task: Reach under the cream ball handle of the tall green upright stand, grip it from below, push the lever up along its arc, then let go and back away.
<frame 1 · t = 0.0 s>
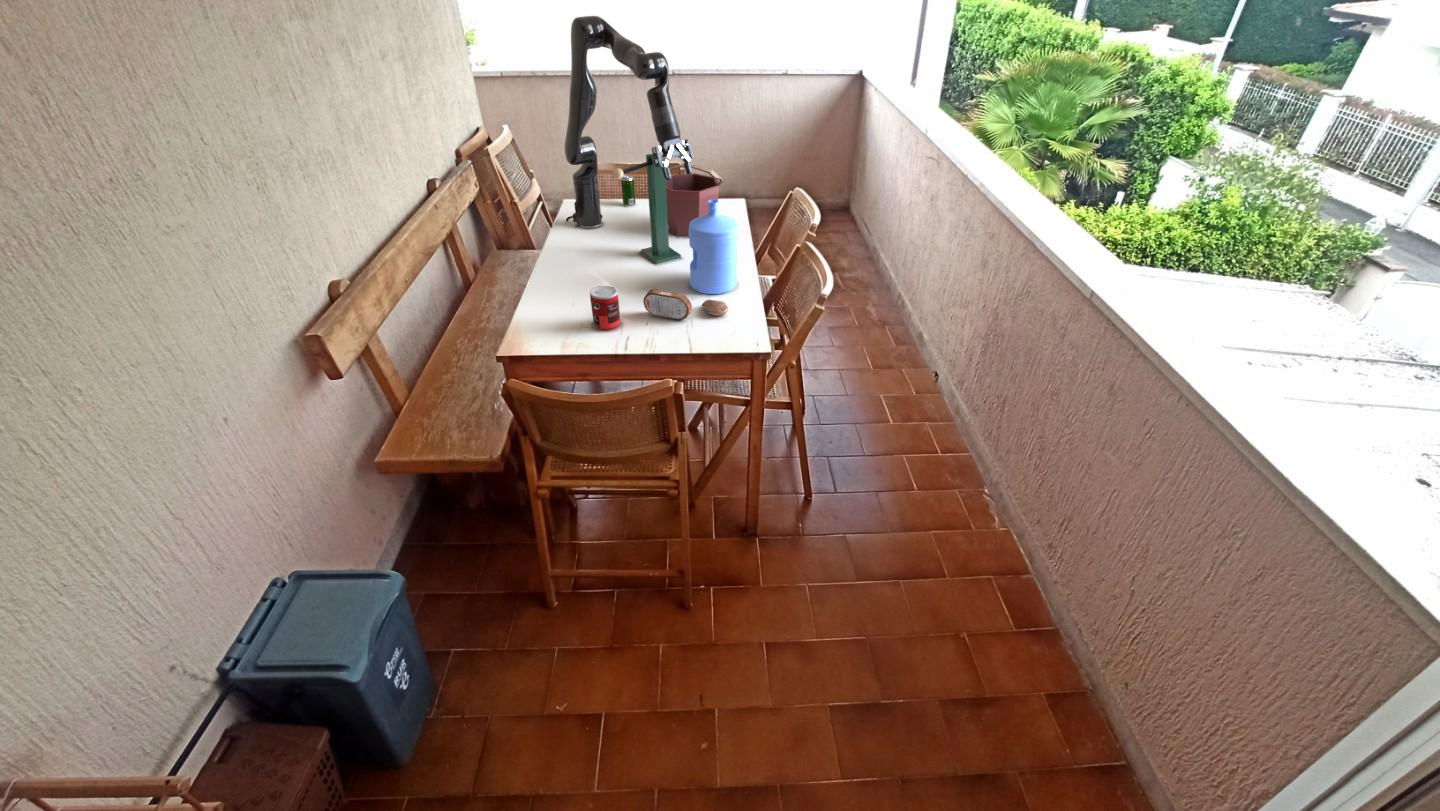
hand: (679, 176, 206), 31 cm above the table, tool tilted 20°, fingers open, 8 cm apart
canned food: (607, 325, 192), on the table
beer can: (629, 205, 277), on the table
green upright stand: (660, 256, 233), on the table
bucket: (691, 231, 253), on the table
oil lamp: (715, 312, 199), on the table
tin: (667, 317, 196), on the table
lever: (636, 167, 210), point 33 cm above the table, hinge at -8.0°
water jug: (713, 285, 214), on the table
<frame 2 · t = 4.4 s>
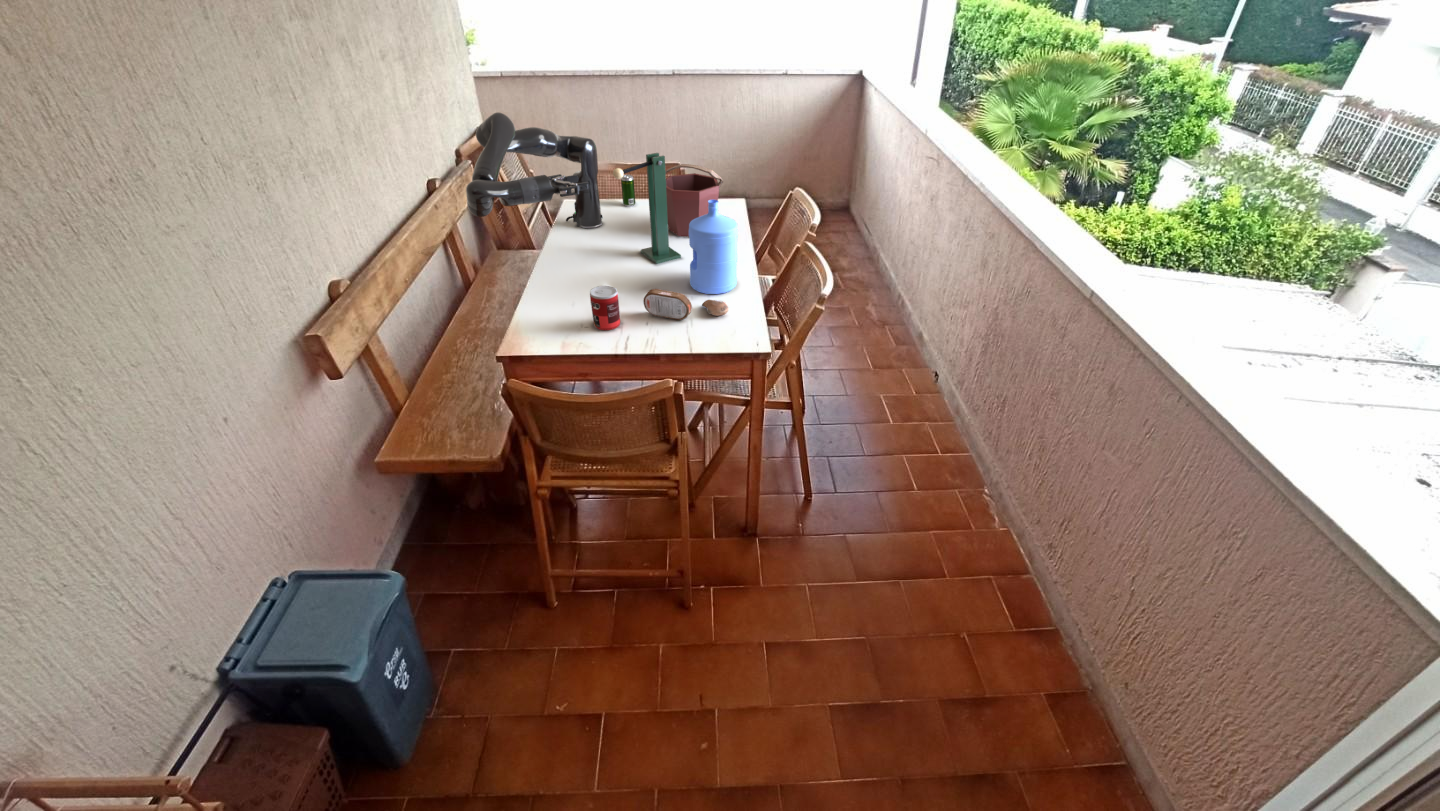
hand: (583, 181, 203), 31 cm above the table, tool horizontal, fingers open, 8 cm apart
nothing on the table moved.
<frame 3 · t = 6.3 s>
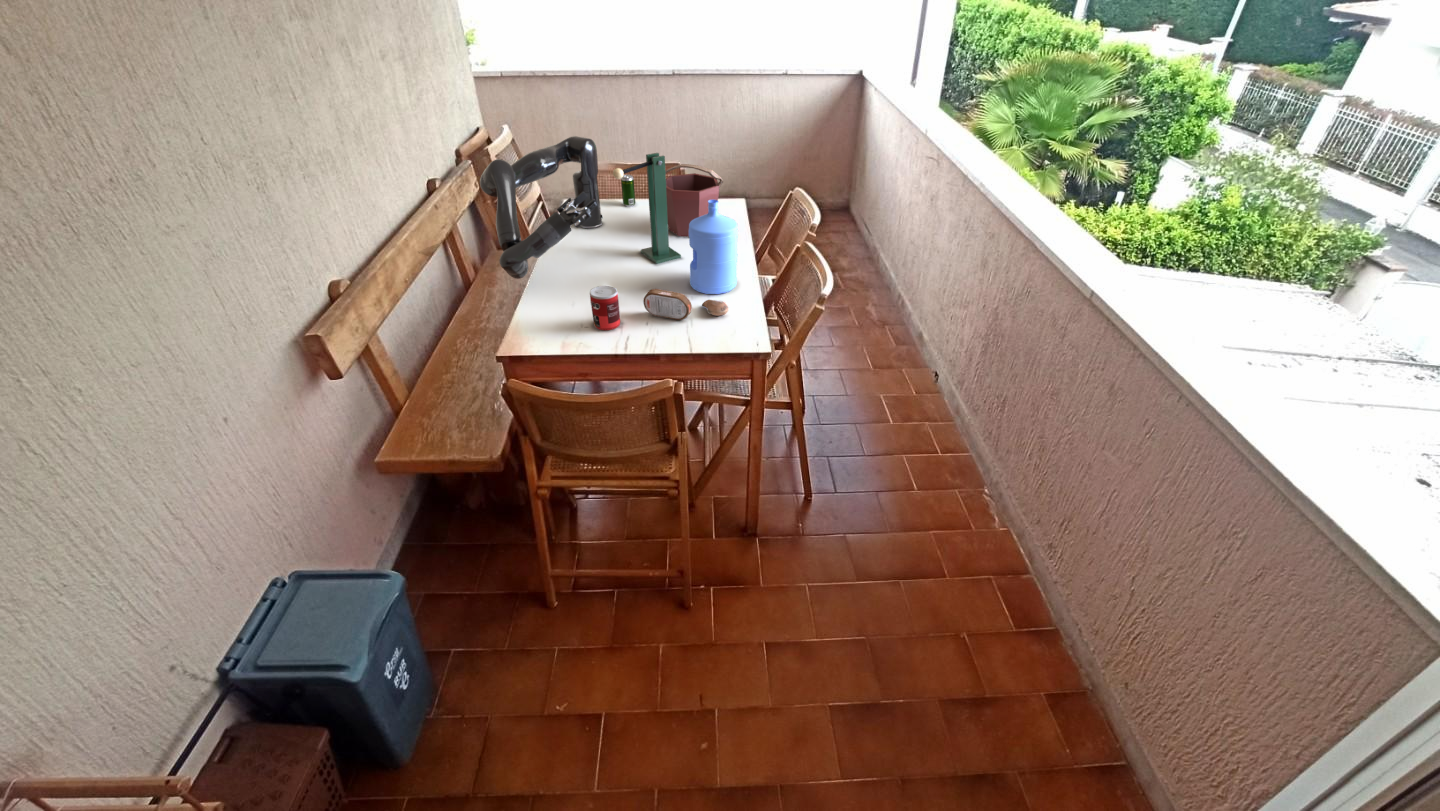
hand: (590, 197, 207), 26 cm above the table, tool pointing upward, fingers open, 8 cm apart
nothing on the table moved.
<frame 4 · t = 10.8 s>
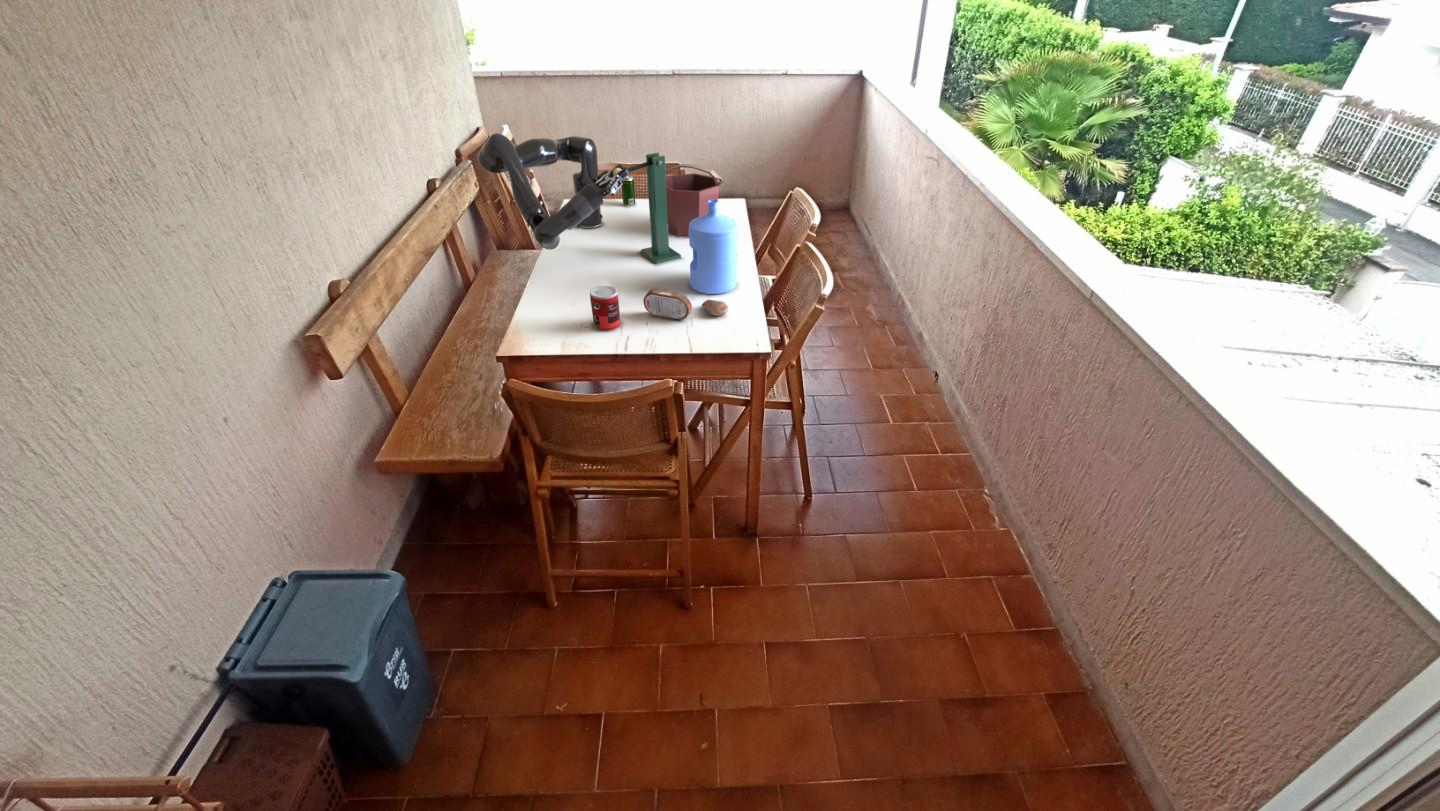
hand: (624, 167, 208), 33 cm above the table, tool pointing upward, fingers closed on lever, 3 cm apart
lever: (636, 167, 210), point 33 cm above the table, hinge at -8.0°, touching gripper
everything else where it was.
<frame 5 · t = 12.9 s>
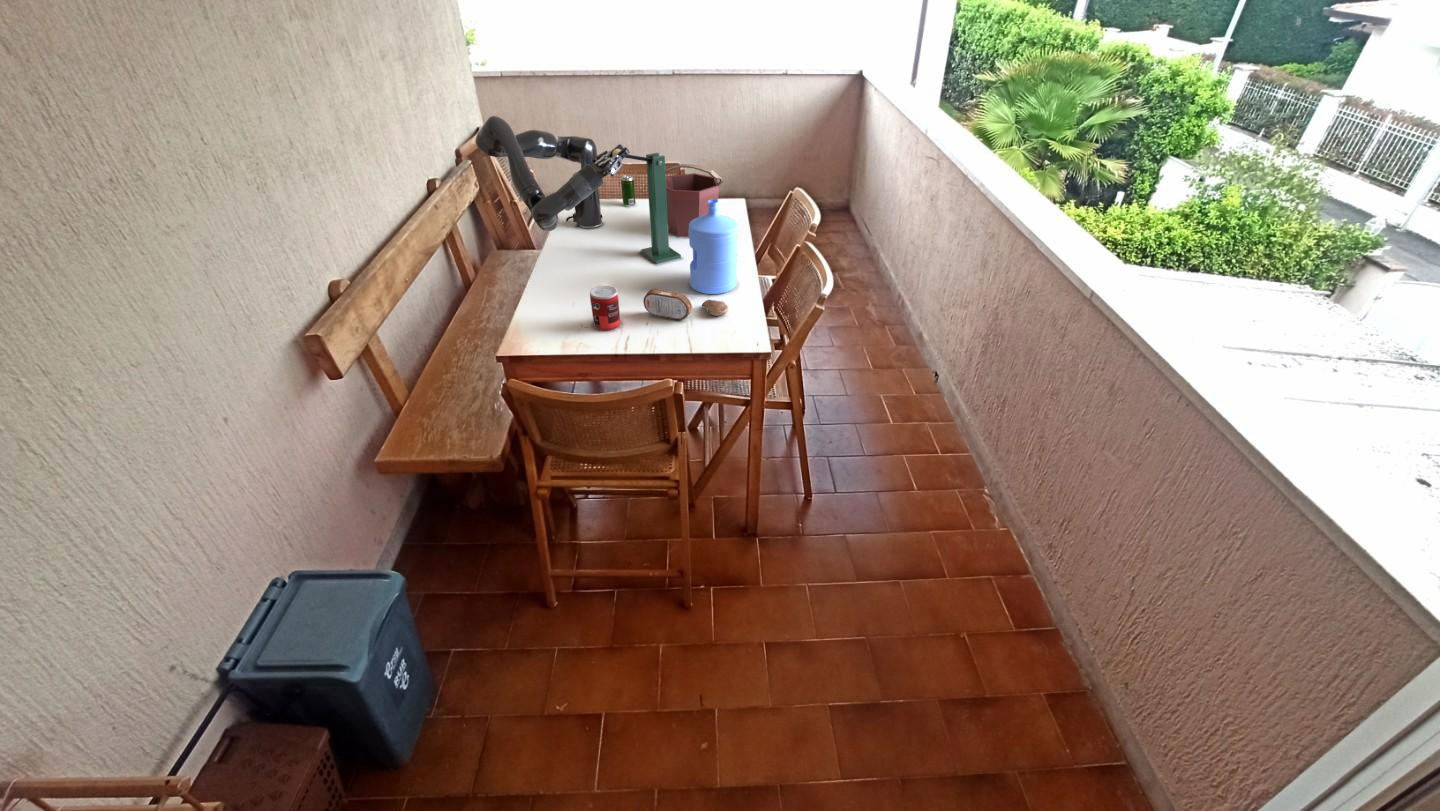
hand: (624, 148, 205), 39 cm above the table, tool pointing upward, fingers closed on lever, 3 cm apart
lever: (636, 157, 209), point 36 cm above the table, hinge at 16.3°, touching gripper
everything else where it was.
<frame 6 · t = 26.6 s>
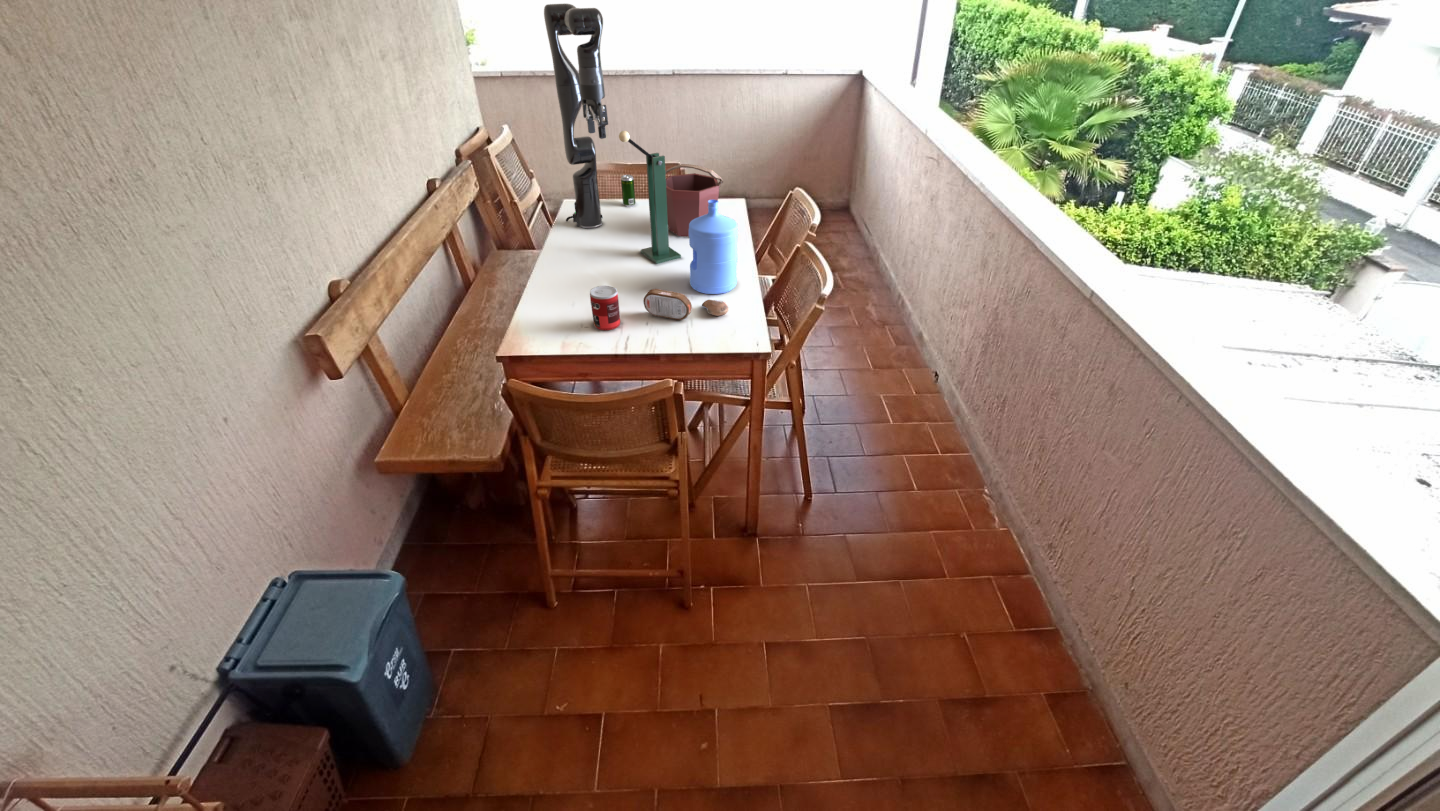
hand: (597, 135, 213), 40 cm above the table, tool pointing down, fingers open, 8 cm apart
lever: (640, 148, 208), point 38 cm above the table, hinge at 40.2°
everything else where it was.
at the end: lever reached +41° during the clip, +40° at the end; lever at +40° (first picture: -8°); the gripper is holding nothing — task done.
